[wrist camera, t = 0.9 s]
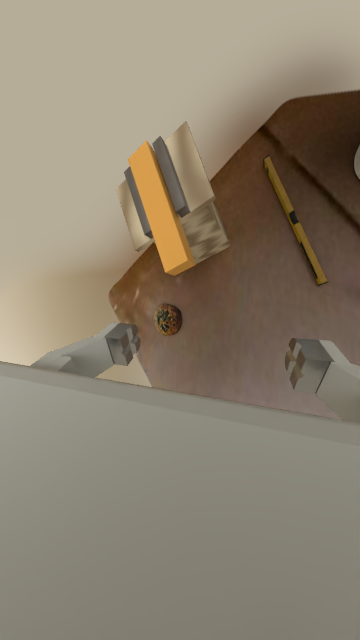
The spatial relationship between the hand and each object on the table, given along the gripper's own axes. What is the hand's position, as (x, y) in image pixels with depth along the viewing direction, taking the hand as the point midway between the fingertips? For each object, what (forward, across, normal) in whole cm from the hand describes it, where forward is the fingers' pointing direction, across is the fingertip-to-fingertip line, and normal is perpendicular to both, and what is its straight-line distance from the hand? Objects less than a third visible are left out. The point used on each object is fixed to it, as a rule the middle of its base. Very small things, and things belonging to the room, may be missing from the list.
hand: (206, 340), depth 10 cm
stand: (+50, +6, 0) cm, 50 cm away
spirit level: (+47, -16, -4) cm, 50 cm away
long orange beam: (+25, +10, -7) cm, 27 cm away
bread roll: (+43, +17, +24) cm, 52 cm away
